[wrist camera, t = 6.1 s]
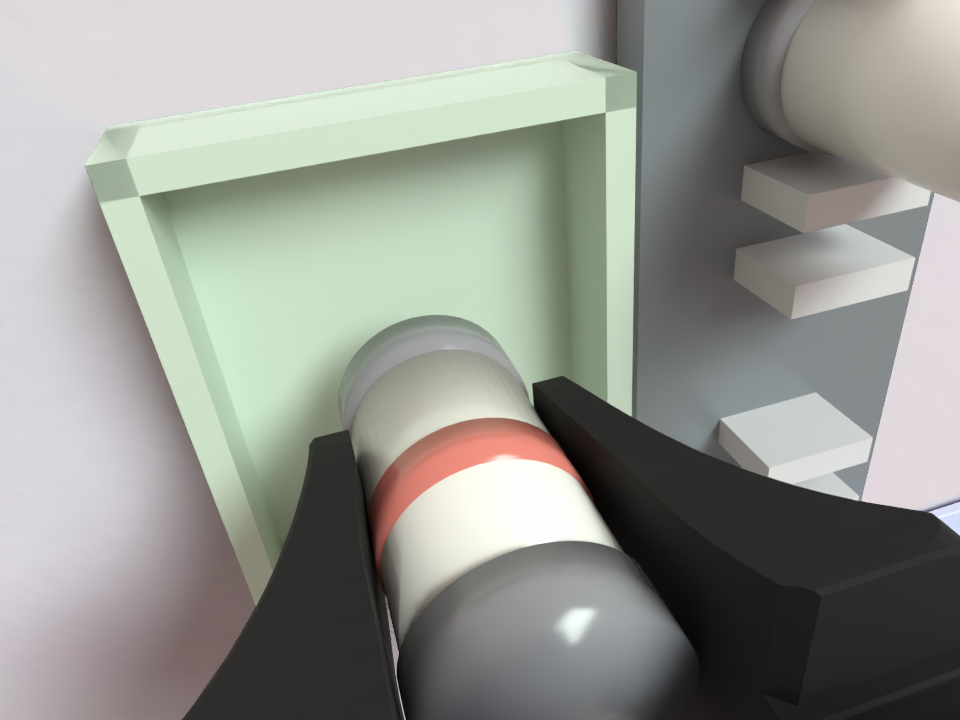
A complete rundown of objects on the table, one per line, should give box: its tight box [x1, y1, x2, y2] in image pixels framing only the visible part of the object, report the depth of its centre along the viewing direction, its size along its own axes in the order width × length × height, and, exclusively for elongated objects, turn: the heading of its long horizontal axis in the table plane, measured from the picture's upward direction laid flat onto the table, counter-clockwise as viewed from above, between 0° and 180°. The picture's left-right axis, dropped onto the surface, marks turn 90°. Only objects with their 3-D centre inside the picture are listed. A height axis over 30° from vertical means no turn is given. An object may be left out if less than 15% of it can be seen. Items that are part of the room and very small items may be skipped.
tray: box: [85, 51, 637, 606], centre depth 16 cm, size 11×9×3 cm
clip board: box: [617, 0, 934, 501], centre depth 19 cm, size 20×8×3 cm, turn 6°
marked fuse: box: [338, 315, 700, 720], centre depth 12 cm, size 4×4×8 cm
